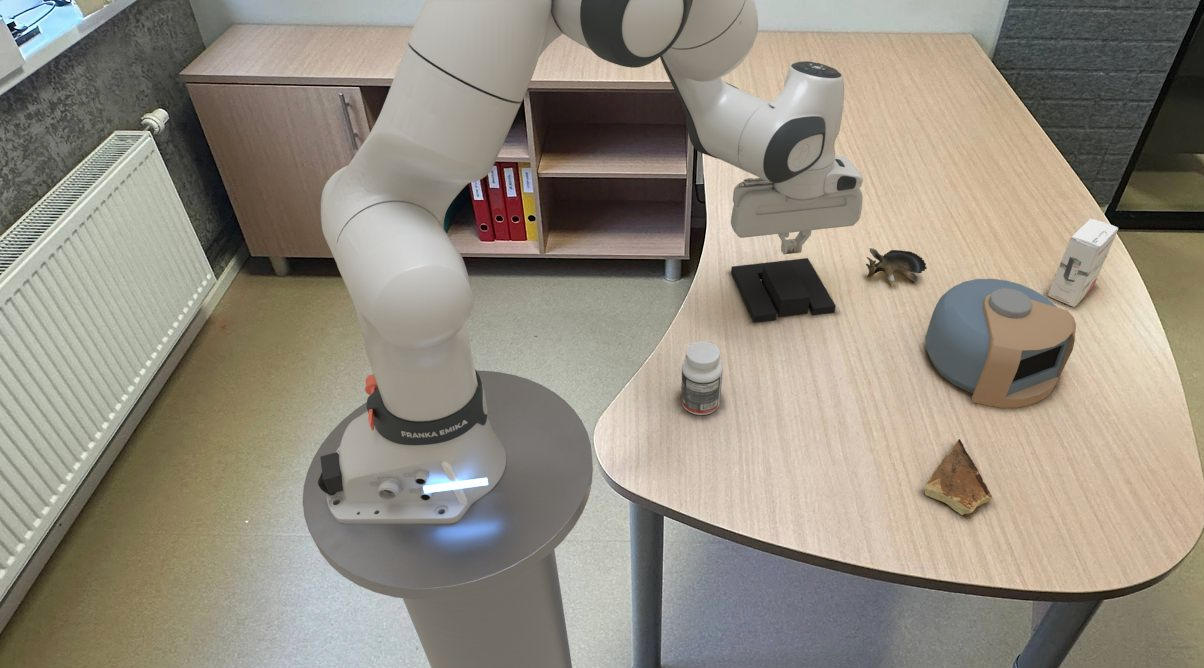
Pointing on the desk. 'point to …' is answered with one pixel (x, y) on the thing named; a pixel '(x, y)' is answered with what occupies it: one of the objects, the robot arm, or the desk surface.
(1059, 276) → the ink box
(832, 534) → the desk surface
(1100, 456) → the desk surface
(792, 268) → the small black block
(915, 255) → the toy dinosaur figure
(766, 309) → the base pad
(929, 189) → the desk surface
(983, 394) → the alarm clock
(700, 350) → the pill bottle
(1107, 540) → the desk surface
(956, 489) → the shard
